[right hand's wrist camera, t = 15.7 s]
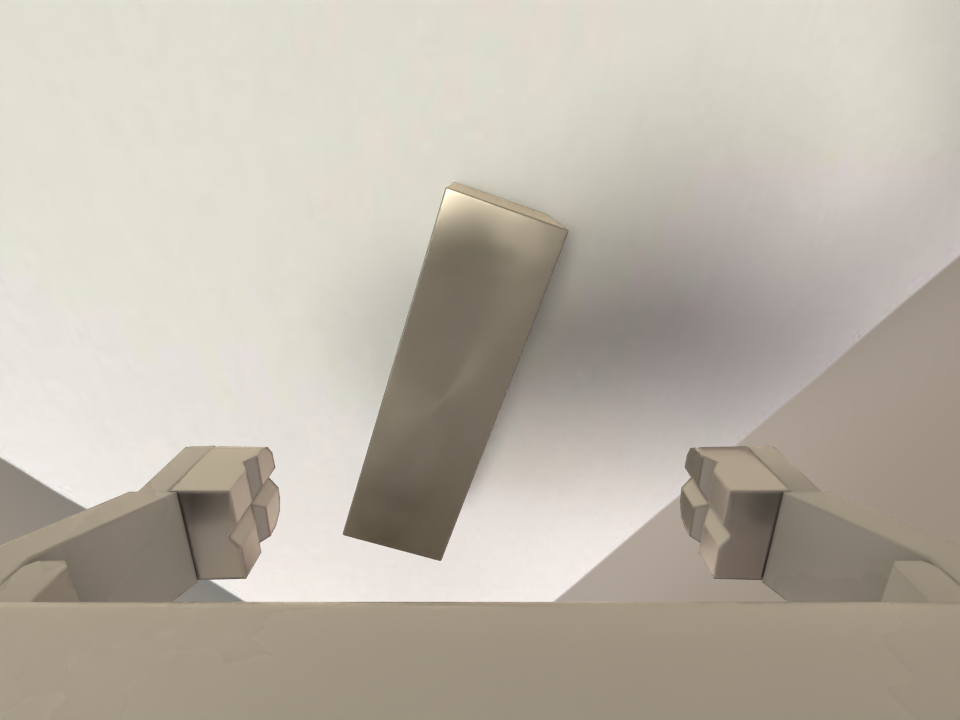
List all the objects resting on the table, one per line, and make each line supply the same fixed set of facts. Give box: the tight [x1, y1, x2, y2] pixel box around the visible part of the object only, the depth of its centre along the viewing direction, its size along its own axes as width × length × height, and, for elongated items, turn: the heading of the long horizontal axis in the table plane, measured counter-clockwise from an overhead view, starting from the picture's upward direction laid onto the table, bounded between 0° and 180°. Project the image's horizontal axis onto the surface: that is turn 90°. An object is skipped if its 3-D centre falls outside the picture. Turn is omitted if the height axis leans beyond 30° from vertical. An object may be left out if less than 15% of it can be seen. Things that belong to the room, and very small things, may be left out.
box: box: [343, 182, 568, 561], centre depth 32 cm, size 21×6×9 cm, turn 161°
